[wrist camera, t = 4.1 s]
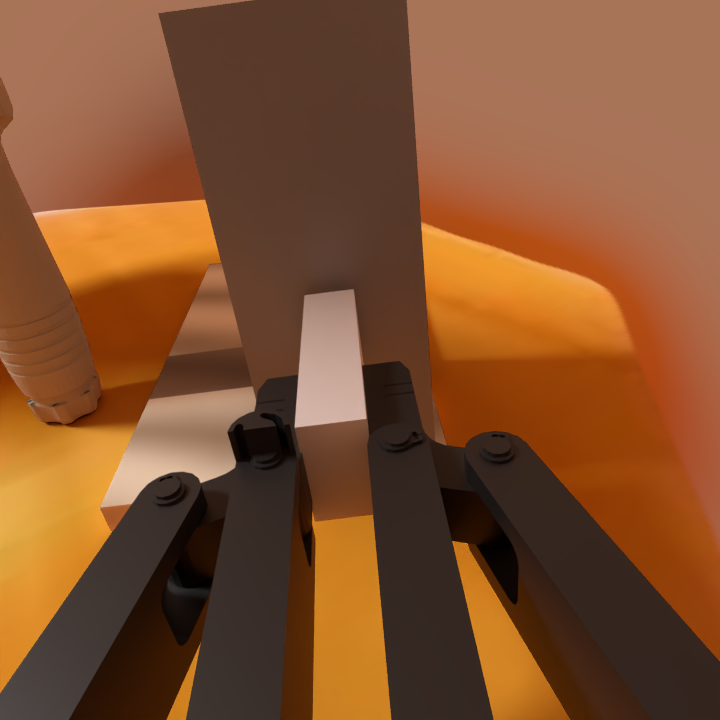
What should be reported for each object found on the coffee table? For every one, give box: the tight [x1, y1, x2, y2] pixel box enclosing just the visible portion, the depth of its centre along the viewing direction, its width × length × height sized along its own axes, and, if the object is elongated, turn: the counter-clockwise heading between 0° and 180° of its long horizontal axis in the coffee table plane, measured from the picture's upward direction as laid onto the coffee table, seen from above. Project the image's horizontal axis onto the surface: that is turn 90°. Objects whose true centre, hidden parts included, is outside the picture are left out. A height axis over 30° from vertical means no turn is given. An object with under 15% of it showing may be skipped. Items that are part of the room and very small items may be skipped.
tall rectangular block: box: [159, 0, 435, 441], centre depth 22 cm, size 9×6×15 cm
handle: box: [0, 78, 102, 424], centre depth 26 cm, size 5×6×15 cm
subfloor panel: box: [100, 263, 447, 531], centre depth 32 cm, size 24×13×1 cm, turn 3°
